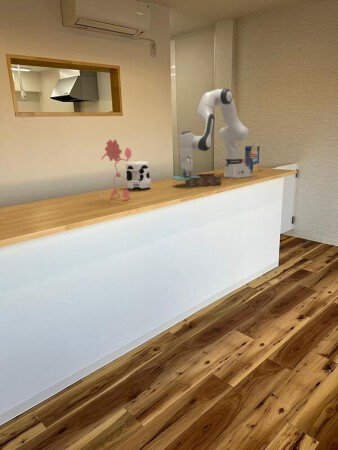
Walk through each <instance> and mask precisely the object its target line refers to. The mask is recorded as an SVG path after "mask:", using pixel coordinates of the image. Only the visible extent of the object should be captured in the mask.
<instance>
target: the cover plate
mask: <svg viewBox="0 0 338 450" xmlns="http://www.w3.org/2000/svg"><path fill="white" fill-rule="evenodd" d="M198 177H200V176H197V175H196V174H191V171H189V176H186V172H184V171H182V175H177V176H176V175H175V176H174V175H173V176H172V179H173V180H175V181H176V182H177V181H178V182H179V181H185V180H190V178H198Z"/></svg>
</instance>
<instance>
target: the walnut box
mask: <svg viewBox="0 0 338 450" xmlns="http://www.w3.org/2000/svg"><path fill="white" fill-rule="evenodd" d="M195 175H197V176H200V177H198V178H190V180H184V181H185V182H184V183H185V185H186V186H188V187H189V188H203V187H204V188H205V187H206V188H207V187H219V186H220V187H221V186H222V176H221V175H215V172H214V173H200V174H199V173H197V174H195Z"/></svg>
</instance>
